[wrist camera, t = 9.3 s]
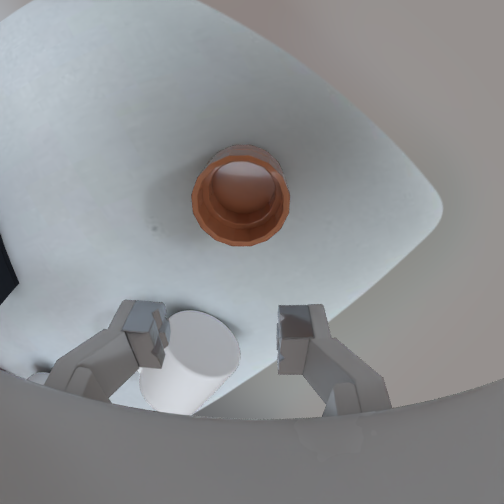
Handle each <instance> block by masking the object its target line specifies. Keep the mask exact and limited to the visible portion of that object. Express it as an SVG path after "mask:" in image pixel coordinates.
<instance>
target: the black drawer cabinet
mask: <svg viewBox="0 0 504 504" xmlns="http://www.w3.org/2000/svg"><path fill="white" fill-rule="evenodd" d="M18 284H19V282H18V280H17V277H16V275H15V273H14V270H13V268H12V265H11V263H10V260H9V257H8V255H7V252H6V249H5V247H4V244H3V241H2V238H1V235H0V305H1V304H2V303H3V301H4V300H5V299H6V298H7V297H8V295H9V294H10V293H11V292H12V291H13V290H14V288H15V287H16V286H17V285H18Z"/></svg>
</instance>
